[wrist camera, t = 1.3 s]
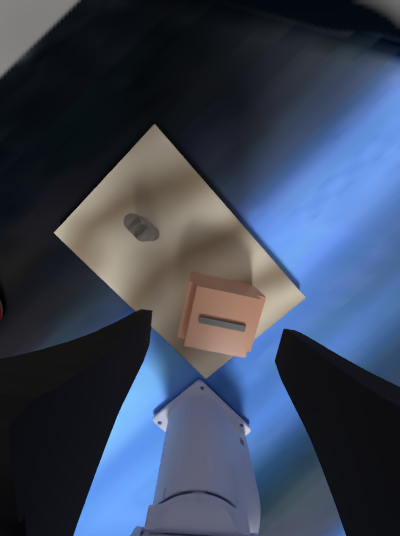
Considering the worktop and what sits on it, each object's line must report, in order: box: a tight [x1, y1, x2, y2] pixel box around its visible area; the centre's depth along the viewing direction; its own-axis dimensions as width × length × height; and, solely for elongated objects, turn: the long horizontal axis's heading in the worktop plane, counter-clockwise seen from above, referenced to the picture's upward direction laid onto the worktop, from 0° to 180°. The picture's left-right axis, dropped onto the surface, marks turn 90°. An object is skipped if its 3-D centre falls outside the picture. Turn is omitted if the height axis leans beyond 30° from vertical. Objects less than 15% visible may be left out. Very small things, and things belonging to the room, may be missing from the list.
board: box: [54, 124, 306, 379], centre depth 18 cm, size 22×14×4 cm, turn 43°
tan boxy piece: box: [177, 272, 266, 358], centre depth 17 cm, size 6×5×5 cm
